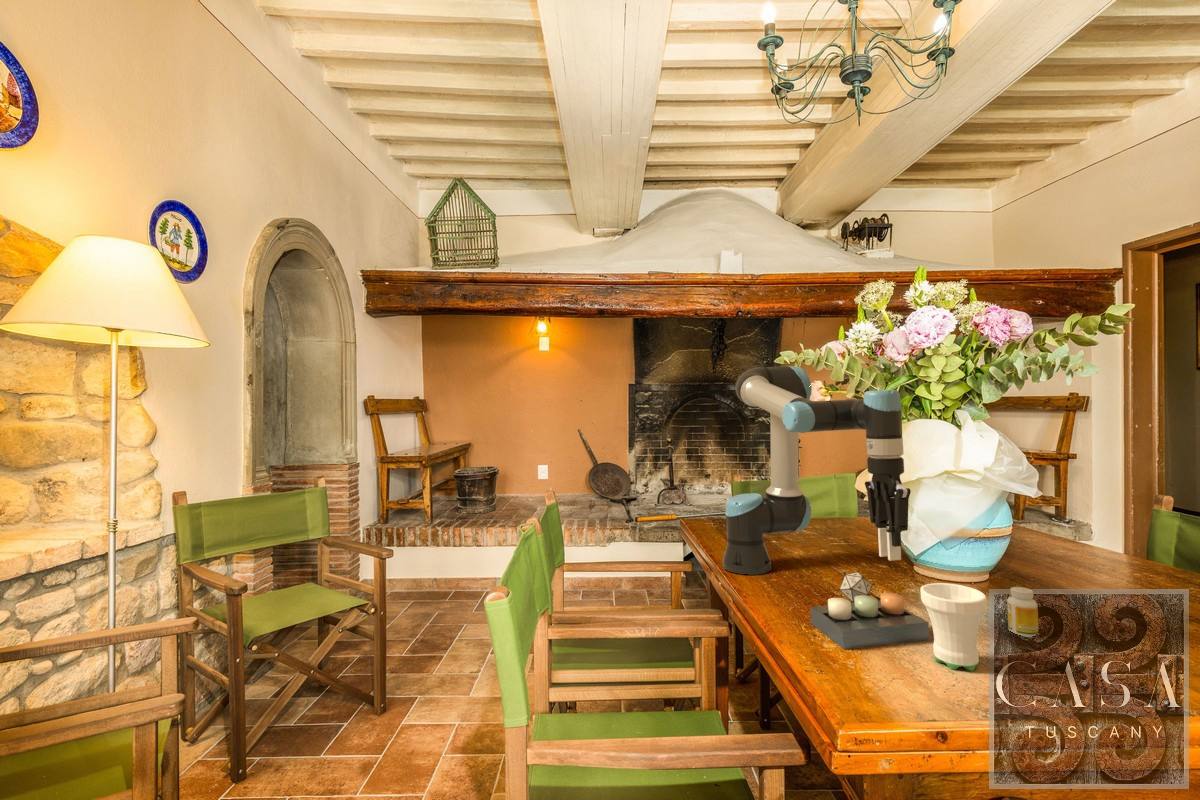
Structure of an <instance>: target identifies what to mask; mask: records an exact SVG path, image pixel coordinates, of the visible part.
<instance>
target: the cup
mask: <svg viewBox="0 0 1200 800" xmlns="http://www.w3.org/2000/svg"><path fill="white" fill-rule="evenodd" d="M920 600H921V602H922V603H923V605H924V606H925V609H926V611H927V613H928V616H929V619H930V623H931V626H932V627H931V628H932V631H933V639H934V640H933V645H932V651H933V652H932V653H933V658H934V660H935V662H937V663H939V664H943V663H944V664H945V665H947V668H949V669H951V670H958V669H959V668H961V667H963V668H964V669H965V670H966V671H967V670H968V671H970V672H972V671H975V668H976V667H977V665H978V664H979V663H980V661H979V660H980V659H979V650H978V649H977V648H978V647H977V645H978V644H977V643H978V641H977V640H978V630H979V627H980V625H981V624H980V623H981V621H982V618H983V615H984V614H985V613H986V612H987V610H988V609H987V606H988V605H987V596H986V594H984V593H983V592H982V591H980V590H978V589H976V588H974V587H970V586H967V585H961V584H957V583H946V582H935V583H934V582H933V583H927V584H924V585H922V586H921V587H920Z"/></svg>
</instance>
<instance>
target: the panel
mask: <svg viewBox="0 0 1200 800" xmlns="http://www.w3.org/2000/svg"><path fill="white" fill-rule="evenodd" d="M904 610H905V612H904V613H903V614H889V613H886V612H883V611H882V610H881V599H880V600H878V616H876V617H864V616H860V615H858V614H856V613H855V603H853V602H851V616H852V617H851V618H850V619H847V620H840V619H835V618H832V617H830V616H829V612H828V604H827V605H818V606H810V609H809V611H810V624H811V625H812V626H814V628H816V629H817V630H819V632H821V633H822V634H824V635H825V636H826V637H828V638H829V639H830V640H831V641H832V642H834V643H835V644H837V646H839V647H840V648H841V649H843V650H850V649H852V650H853V649H859V648H861V649H862V648H869V647H870V648H871V647H872V648H873V647H879V646H880V647H881V646H889V645H898V644H907V643H917V642H927V641H930V627H929V622H928V621H927V620H926V619H924V618H921V617H919V616H918V615H916V614H914V613H913V612H911V611H908V610H907V609H905V608H904Z"/></svg>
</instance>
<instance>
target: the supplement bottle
mask: <svg viewBox="0 0 1200 800" xmlns="http://www.w3.org/2000/svg"><path fill="white" fill-rule="evenodd" d="M1009 591H1010V595H1011V596H1009V597H1008V598H1007V600H1006V603H1007V605H1006V606H1007V608H1006V609H1007V611H1006V612H1007V627H1008V631H1009V632H1010V631H1011V632H1013V633H1015V634H1018V635H1017V636H1019V635H1021V636H1020V637H1025V638H1033V637H1032V636H1035V635H1036V634H1038V632H1039V630H1040V629H1039V628H1040V627H1039V610H1038V609H1039V608H1038V603H1037V601H1036V600H1034V599H1033V598H1034V590H1032V589H1030V588H1028V587H1021V586H1013V587H1010V590H1009ZM1011 632H1010V633H1011ZM1013 633H1012V634H1013ZM1015 634H1014V635H1015ZM1038 635H1039V634H1038Z"/></svg>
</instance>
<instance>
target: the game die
mask: <svg viewBox="0 0 1200 800" xmlns="http://www.w3.org/2000/svg"><path fill="white" fill-rule="evenodd" d="M856 571H857V572H852V573H847V574H846V573H845V572H844V571H843V572H842V574H843V575H844V577H842V578H841V579H842V580H841V581H842V582H841V584H840V588H837V589H836V591H837V592H841V593H842V594H843V595H844V596H845V597H846V598H847V600H849V601H850V602H851V603H855V601H854V597H855V596H859V595H866V596H871V595H870V594H871V591H872V588H873V586H876V583H872V582H871V581H869V580H868V578H866V577H865V575H864V574H861V573H860V569H857V570H856Z"/></svg>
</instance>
